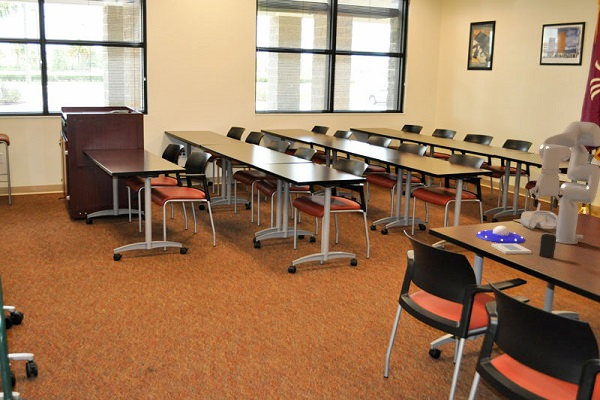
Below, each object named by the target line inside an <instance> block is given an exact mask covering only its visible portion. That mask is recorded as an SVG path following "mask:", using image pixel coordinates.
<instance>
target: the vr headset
mask: <svg viewBox="0 0 600 400" xmlns="http://www.w3.org/2000/svg"><path fill="white" fill-rule="evenodd" d="M541 205H542V204H541V202H538V207H537V208H536V210H533V211H531V210H528V211H523V212H522V213H521V216H520V224H521V225H522V226H524V227H526V228H528V229H530V230H534V229H536V228H539V229H541V230H542V229H543V230H548V229H549V230H550V231H551V230H554V229H555V230H556V229H557V221H558V215H557V214H556V213H555V212H553V211H549V210H540V208H541Z"/></svg>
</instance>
